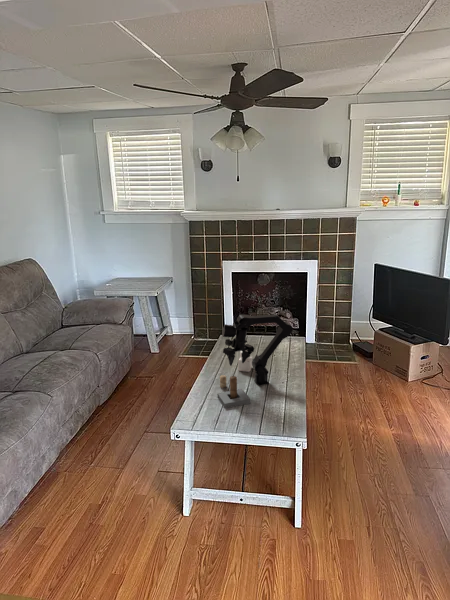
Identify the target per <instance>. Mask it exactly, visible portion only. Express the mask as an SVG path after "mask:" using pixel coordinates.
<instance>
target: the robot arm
mask: <svg viewBox="0 0 450 600" xmlns="http://www.w3.org/2000/svg"><path fill="white" fill-rule="evenodd" d="M273 323H274V324H276V325H278V327H277V330H276V334H275V335H274V337H272V339H271V340H270V342H269V343H268V345H267V346H266V347H265V349H264V350H263V351H262V353H260V354H259V355H258V354H256V355H255V356H254V357H253V358H252V368H253V369H254V371H255V374H254V382H255V383H256V384H257V385H258V386H262V385H268V384H270V382H269V380H268V377H269V376H268V374H269V370H268V369H267V364H268V360H269V359H270V357H272V354H274V353H275V351H276V349H277V348H278V347H279V345H281V343H282V341H284V339H287V338H288V337H289V336H290V335H291V334H292V333H293V331H294V329H293V326H292V325H291V324H290V323H289V322H288V321H284V320H283V319H282V318H281V317H280V316H279V315H278V314H277V313H273V314H265V315H264V314H263V315H249V314H239V315H238V316H237V317H236V320H235V321H234V322H233V323H232V324H225V323H224V325H223V328H222V331H221V336H222V338H226V339H225V341H224V343H225V346H226V347H224V348H223V349H222V353H223V354H225V355H226V356H227V359H228V363H229V366H231V367H232V366H233V363H234V361H235V358H236V353H237V352H239V353H240V351H242V352H243V356H242V363H244V362H245V361H246V359H247V358H248V356H249V355H250V356H251V354H253V352H254V351H255V346H253V345H251V344H249V343H247V342H248V340H247V332H251V331H252V330H251V329H250V327H251V326H254V325H263V324H273ZM230 338H233V339H230Z"/></svg>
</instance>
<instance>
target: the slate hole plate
mask: <svg viewBox="0 0 450 600" xmlns="http://www.w3.org/2000/svg"><path fill="white" fill-rule="evenodd" d="M216 395H217V399H218V401H219V402H220V404H221V405H222V407H223V408H224V409H227V408H232V407H239V406H244V405H249V404H251V398H250V397H249V395H248V394H247V392H245V391H244V390H243V388H239V389H238V388H237V398H235V399H230V390H228V391H227V390H226V391H221V392H217V394H216Z"/></svg>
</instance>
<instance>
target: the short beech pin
mask: <svg viewBox="0 0 450 600" xmlns="http://www.w3.org/2000/svg"><path fill="white" fill-rule="evenodd" d="M219 388H222V389H225V388H227V376H226V375H225V374H222V375H220V376H219Z"/></svg>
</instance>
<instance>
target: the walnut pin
mask: <svg viewBox="0 0 450 600" xmlns="http://www.w3.org/2000/svg"><path fill="white" fill-rule="evenodd" d="M237 390H238V377H237V376H234V375H231V376H230V377H229V391H230V399H235V398H237Z"/></svg>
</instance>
